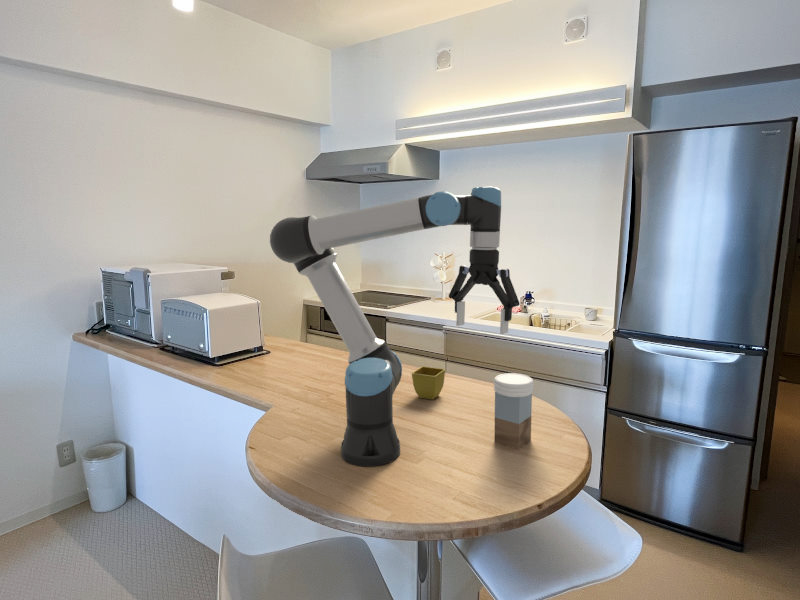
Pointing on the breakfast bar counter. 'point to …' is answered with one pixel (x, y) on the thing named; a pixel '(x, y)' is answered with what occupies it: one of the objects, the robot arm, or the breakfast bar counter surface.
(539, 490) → the breakfast bar counter surface
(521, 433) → the block bottom
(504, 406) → the block top
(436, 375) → the flower pot
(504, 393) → the white round disc
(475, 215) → the robot arm
